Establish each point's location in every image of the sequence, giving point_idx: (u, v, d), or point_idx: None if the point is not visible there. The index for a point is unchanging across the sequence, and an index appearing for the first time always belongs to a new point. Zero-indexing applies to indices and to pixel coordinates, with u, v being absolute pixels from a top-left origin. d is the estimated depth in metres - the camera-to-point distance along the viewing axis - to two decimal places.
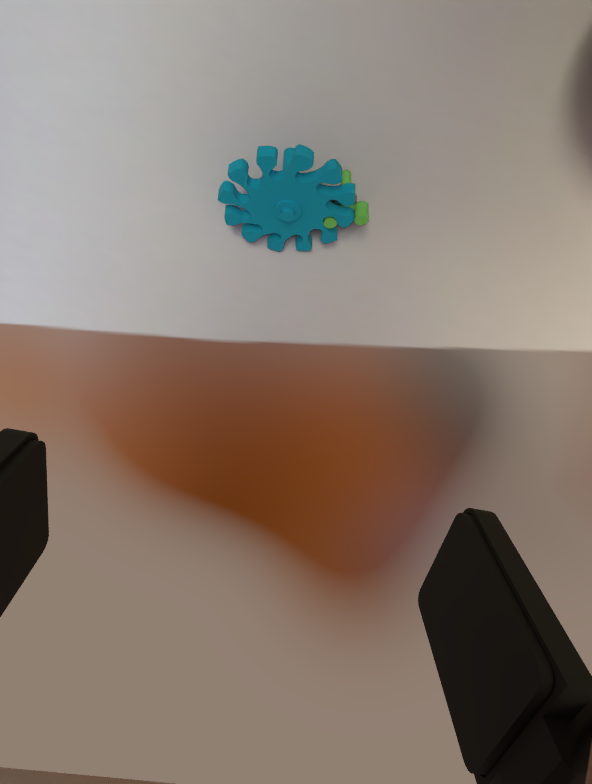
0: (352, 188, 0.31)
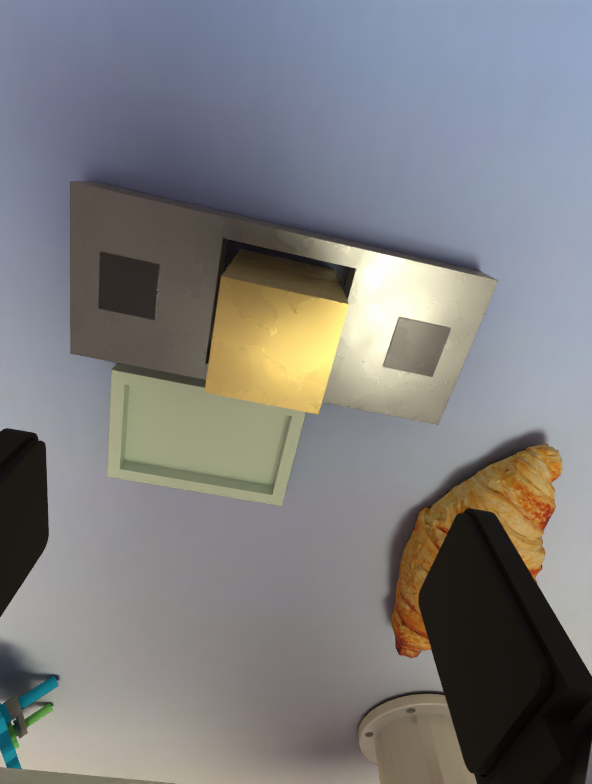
0: None
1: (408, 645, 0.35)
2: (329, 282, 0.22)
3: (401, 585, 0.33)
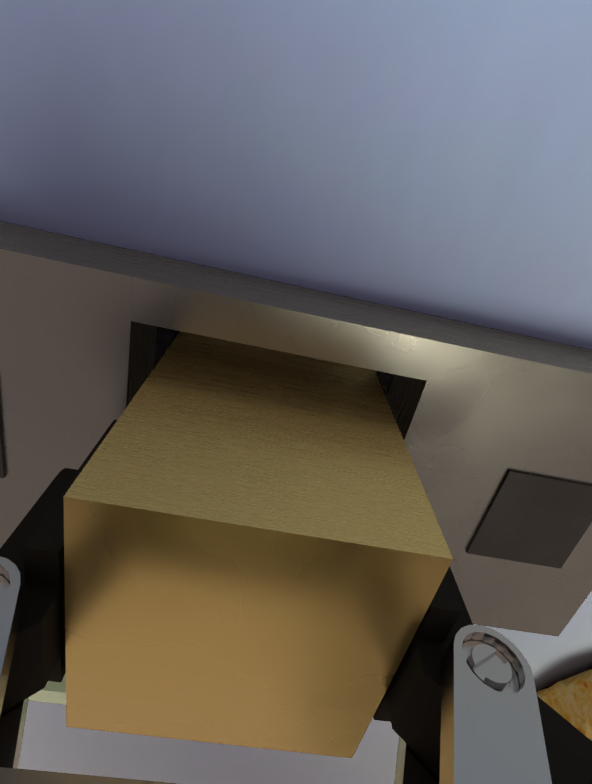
0: None
1: None
2: (373, 424, 0.10)
3: None
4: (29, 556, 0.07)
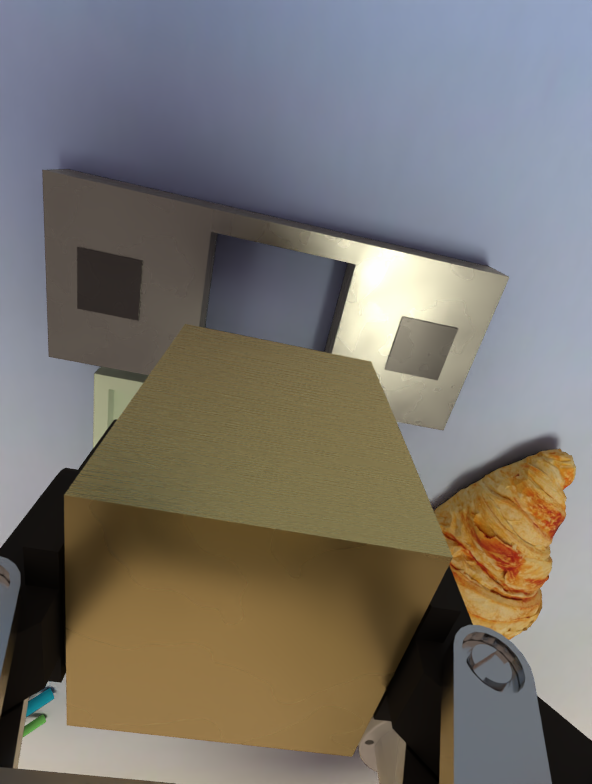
0: None
1: None
2: (373, 423, 0.10)
3: None
4: (29, 556, 0.07)
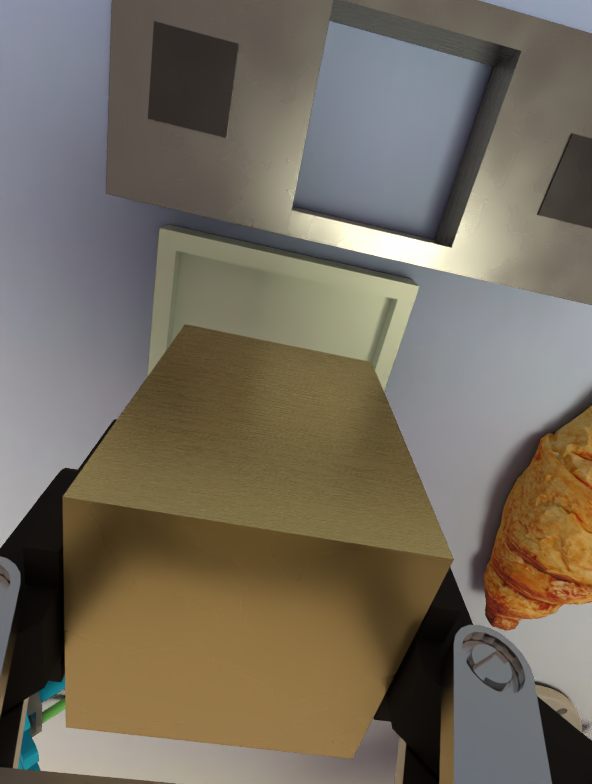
0: None
1: (509, 612, 0.28)
2: (373, 424, 0.10)
3: (512, 532, 0.26)
4: (29, 556, 0.07)
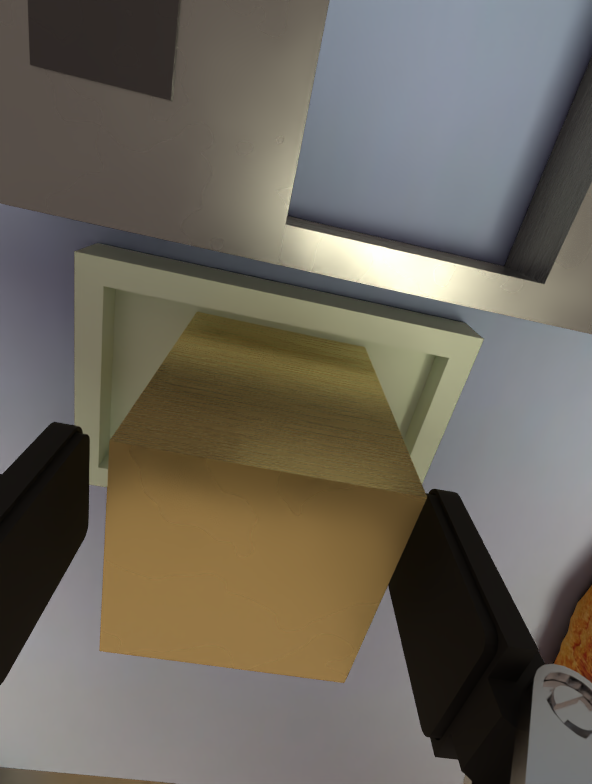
0: None
1: None
2: (364, 397, 0.11)
3: None
4: None
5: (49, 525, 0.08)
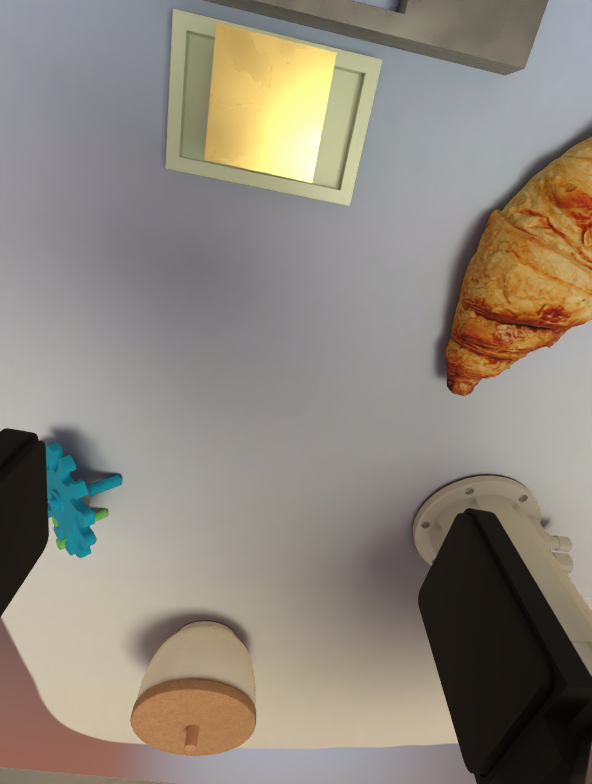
0: None
1: (465, 371, 0.34)
2: None
3: (467, 291, 0.32)
4: None
5: None
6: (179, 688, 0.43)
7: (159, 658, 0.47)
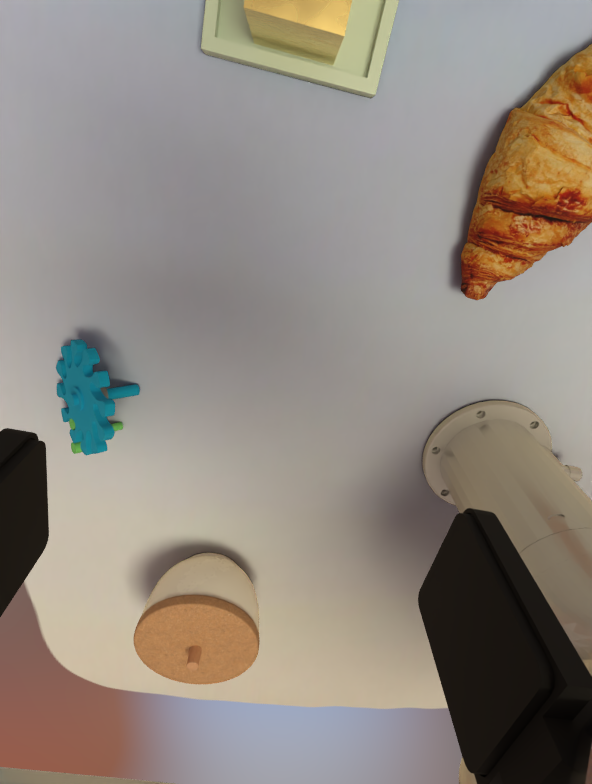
0: (91, 453, 0.39)
1: (480, 270, 0.34)
2: None
3: (485, 185, 0.32)
4: None
5: None
6: (184, 602, 0.43)
7: (164, 580, 0.47)
